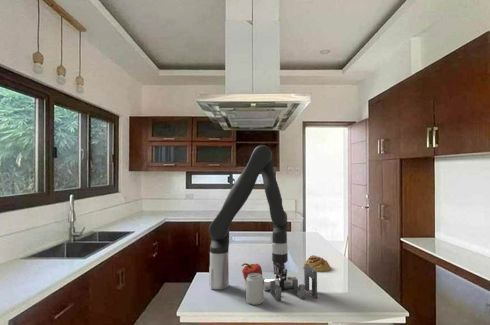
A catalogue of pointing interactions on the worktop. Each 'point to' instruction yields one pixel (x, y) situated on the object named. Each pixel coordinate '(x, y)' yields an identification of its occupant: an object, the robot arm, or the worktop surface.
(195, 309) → the worktop surface
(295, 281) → the grey u-shaped bracket
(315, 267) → the pastry
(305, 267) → the frame
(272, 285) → the grey metal blocks
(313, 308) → the worktop surface
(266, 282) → the tube
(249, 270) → the vegetable
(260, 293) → the can
